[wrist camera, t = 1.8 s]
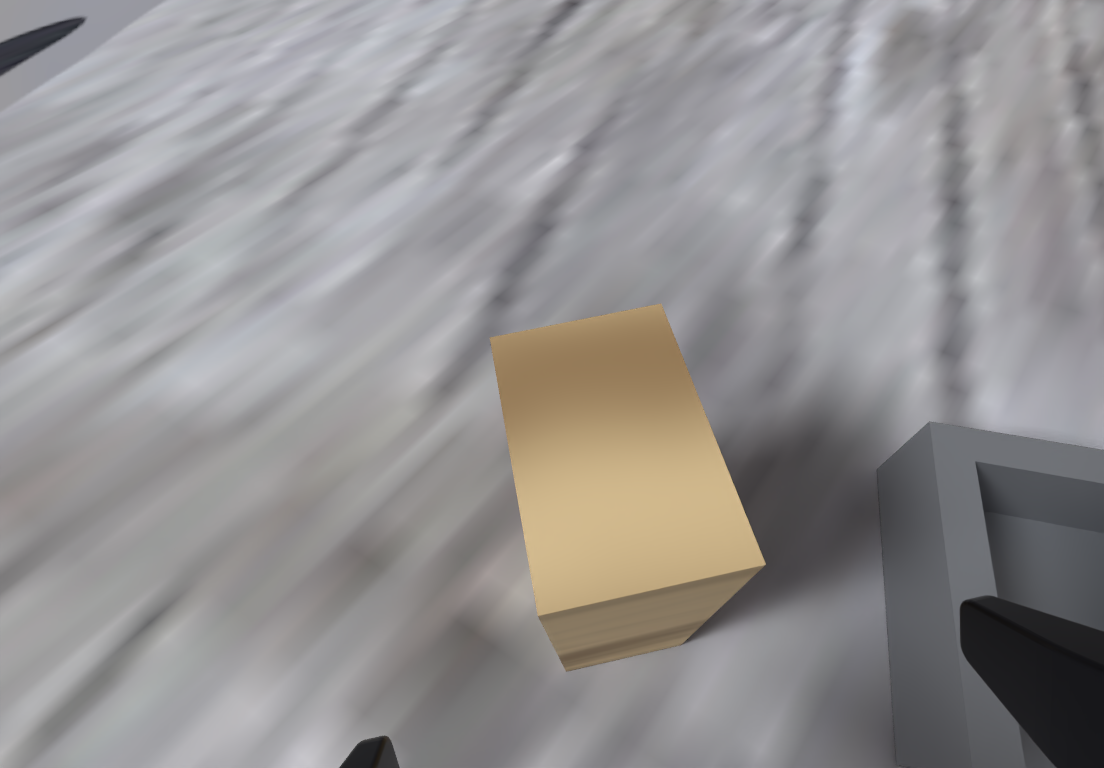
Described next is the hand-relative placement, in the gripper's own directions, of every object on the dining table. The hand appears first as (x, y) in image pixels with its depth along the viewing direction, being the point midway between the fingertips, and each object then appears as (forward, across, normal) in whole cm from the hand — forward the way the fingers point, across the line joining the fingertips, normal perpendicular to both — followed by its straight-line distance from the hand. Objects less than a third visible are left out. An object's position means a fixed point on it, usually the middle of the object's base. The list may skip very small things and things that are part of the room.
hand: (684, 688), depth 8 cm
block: (+11, 0, +5) cm, 12 cm away
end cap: (+7, -13, +8) cm, 17 cm away
